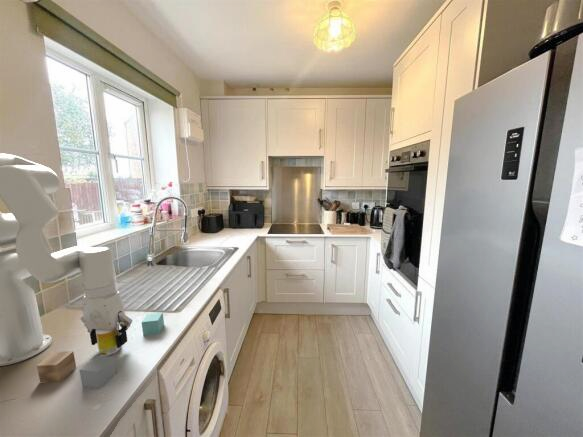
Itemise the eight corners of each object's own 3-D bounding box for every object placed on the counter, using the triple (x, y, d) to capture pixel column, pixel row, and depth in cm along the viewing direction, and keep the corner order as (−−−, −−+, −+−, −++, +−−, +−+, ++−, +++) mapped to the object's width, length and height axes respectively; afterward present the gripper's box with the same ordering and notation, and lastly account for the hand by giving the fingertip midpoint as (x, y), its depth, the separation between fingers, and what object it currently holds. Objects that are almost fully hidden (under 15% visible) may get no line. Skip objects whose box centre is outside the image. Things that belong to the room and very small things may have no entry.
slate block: (82, 387, 61) (79, 369, 60) (101, 371, 66) (98, 355, 65) (99, 389, 60) (96, 371, 59) (116, 373, 65) (114, 357, 64)
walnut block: (40, 382, 62) (36, 365, 62) (58, 367, 67) (55, 351, 67) (59, 382, 63) (56, 365, 62) (76, 367, 67) (73, 351, 67)
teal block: (143, 335, 81) (141, 322, 80) (149, 326, 85) (147, 314, 85) (159, 333, 82) (157, 320, 81) (164, 325, 86) (162, 312, 86)
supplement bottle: (124, 350, 74) (119, 319, 72) (101, 360, 70) (96, 328, 68) (119, 341, 78) (115, 312, 76) (97, 351, 74) (92, 320, 72)
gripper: (62, 293, 68) (73, 349, 71) (116, 297, 65) (124, 355, 68) (88, 282, 75) (97, 333, 78) (137, 285, 73) (144, 337, 76)
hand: (109, 343), depth 73 cm, fingers open, 8 cm apart
